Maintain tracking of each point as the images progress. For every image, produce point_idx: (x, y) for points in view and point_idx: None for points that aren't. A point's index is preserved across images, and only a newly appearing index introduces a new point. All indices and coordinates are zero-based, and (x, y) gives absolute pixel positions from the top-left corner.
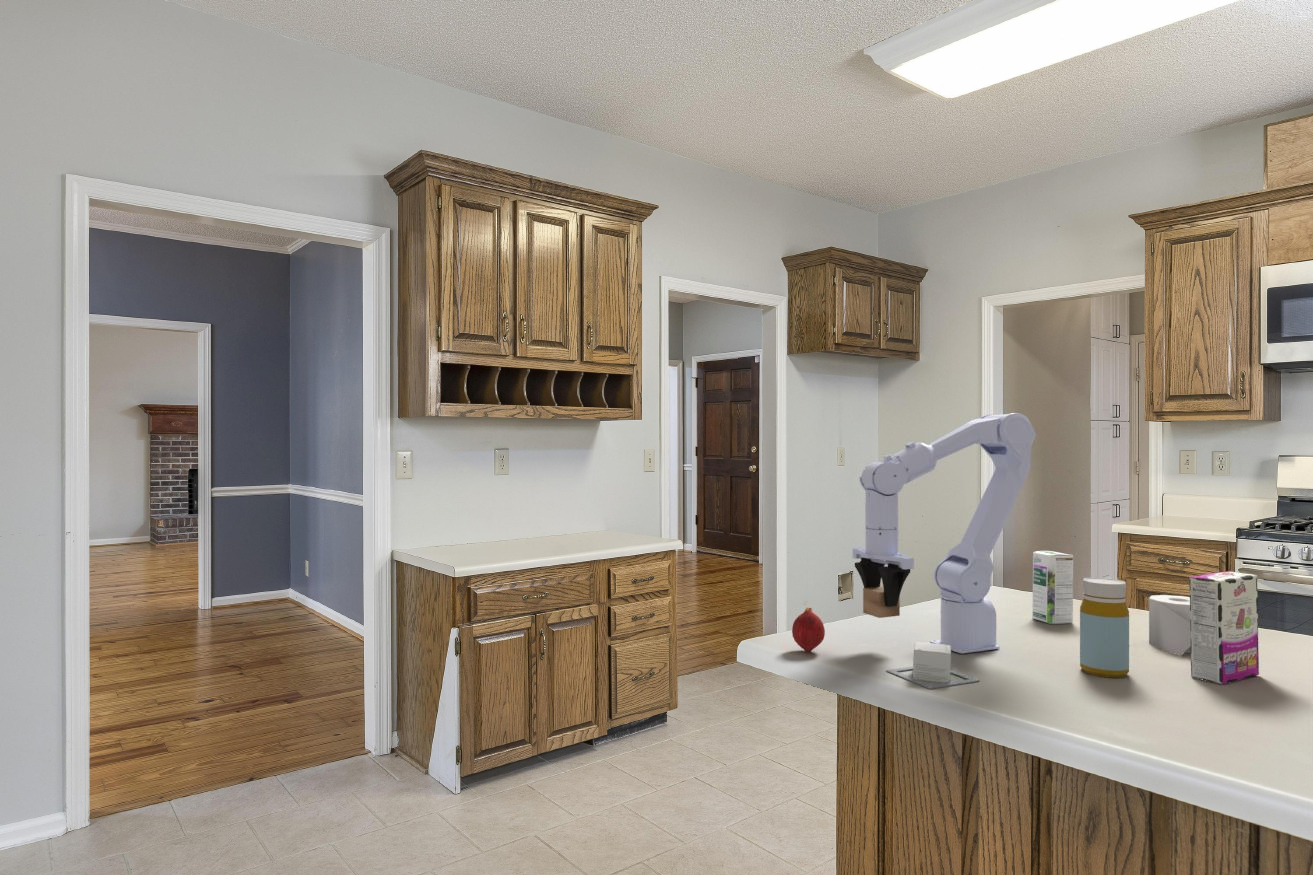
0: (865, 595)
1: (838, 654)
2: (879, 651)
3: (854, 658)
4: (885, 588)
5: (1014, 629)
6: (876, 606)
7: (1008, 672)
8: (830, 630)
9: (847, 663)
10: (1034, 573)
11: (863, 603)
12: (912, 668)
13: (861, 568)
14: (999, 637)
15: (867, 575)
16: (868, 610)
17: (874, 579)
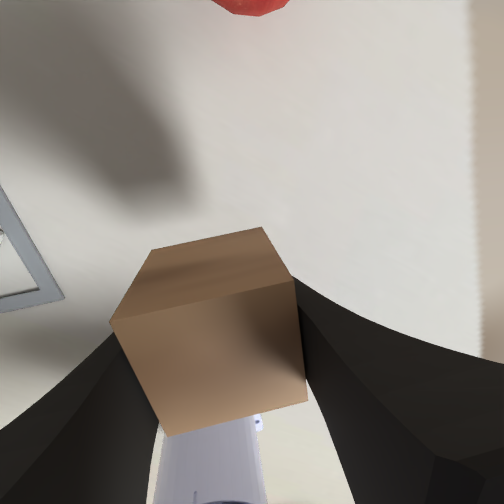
0: (260, 264)
1: (189, 78)
2: (205, 225)
3: (136, 111)
4: (77, 380)
5: (300, 491)
6: (161, 265)
7: (11, 405)
8: (434, 194)
9: (70, 48)
10: None
11: (268, 241)
12: (5, 228)
13: (412, 412)
14: (261, 463)
15: (345, 386)
16: (226, 240)
17: (328, 400)
